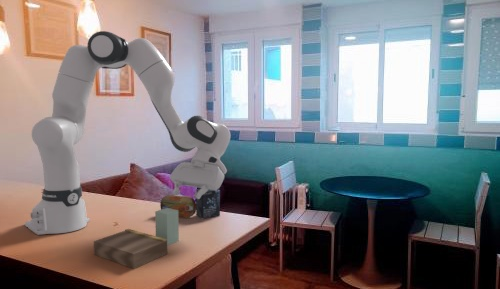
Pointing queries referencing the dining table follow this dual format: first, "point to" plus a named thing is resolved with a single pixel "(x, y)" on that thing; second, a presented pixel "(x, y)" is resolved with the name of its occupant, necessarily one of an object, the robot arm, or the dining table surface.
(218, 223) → the dining table surface
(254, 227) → the dining table surface
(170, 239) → the block
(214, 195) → the box
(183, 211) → the tin
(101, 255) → the block
